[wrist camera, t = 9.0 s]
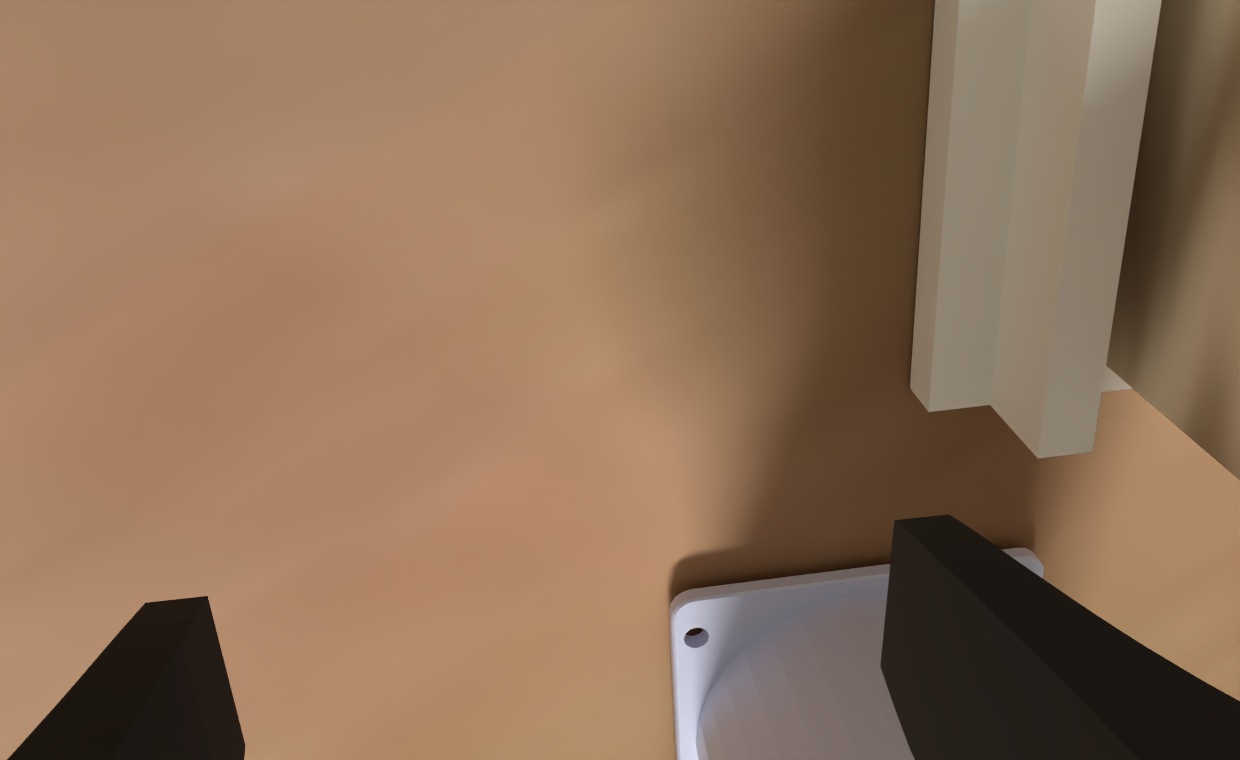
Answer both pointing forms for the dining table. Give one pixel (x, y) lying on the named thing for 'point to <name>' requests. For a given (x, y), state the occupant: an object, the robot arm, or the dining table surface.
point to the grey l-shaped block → (1028, 208)
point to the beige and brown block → (1187, 232)
